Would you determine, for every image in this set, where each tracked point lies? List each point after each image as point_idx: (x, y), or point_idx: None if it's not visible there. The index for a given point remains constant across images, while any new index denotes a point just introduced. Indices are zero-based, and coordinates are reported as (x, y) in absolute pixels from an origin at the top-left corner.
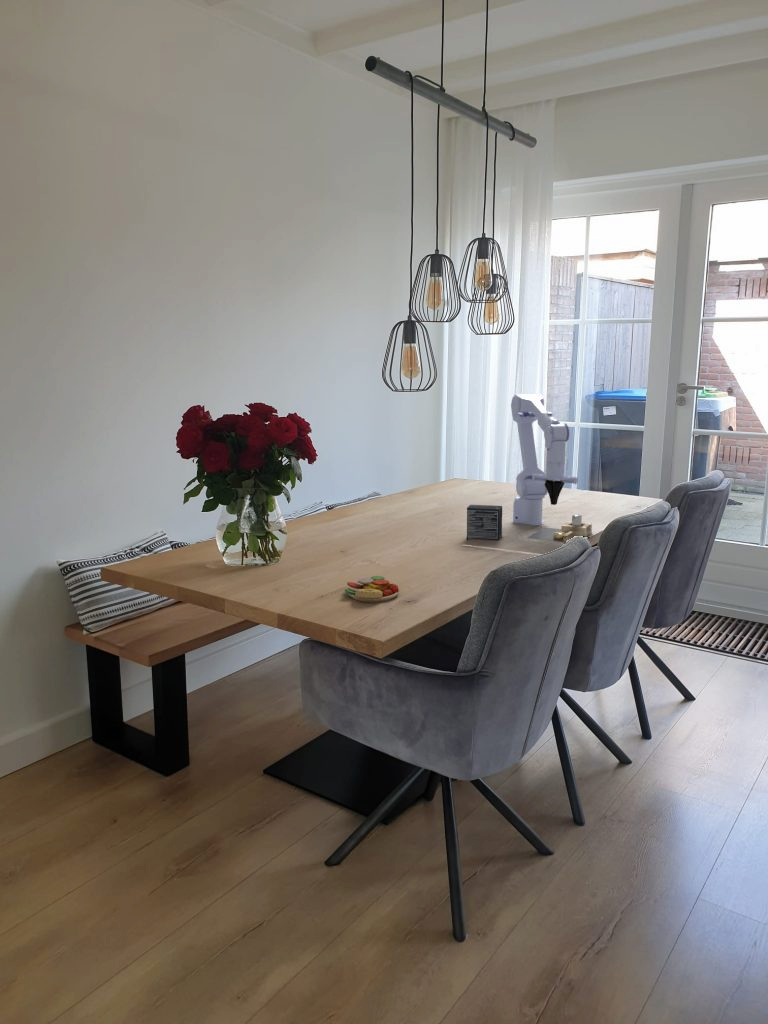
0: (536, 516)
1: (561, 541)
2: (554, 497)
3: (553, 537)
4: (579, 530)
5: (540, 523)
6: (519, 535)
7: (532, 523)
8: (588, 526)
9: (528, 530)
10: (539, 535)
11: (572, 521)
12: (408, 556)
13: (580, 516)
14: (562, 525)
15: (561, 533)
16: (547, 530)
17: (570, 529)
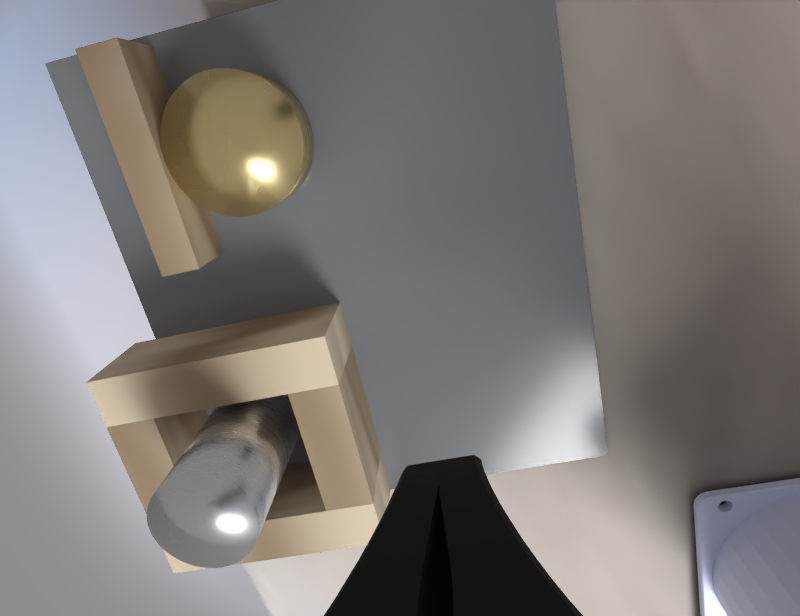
0: (772, 578)
1: (169, 46)
2: (392, 550)
3: (293, 97)
4: (153, 358)
5: (701, 545)
6: (694, 55)
7: (764, 507)
8: (135, 479)
9: (705, 313)
10: (485, 134)
11: (247, 444)
12: None
13: (148, 512)
14: (320, 346)
15: (215, 148)
16: (528, 371)
17: (238, 341)
